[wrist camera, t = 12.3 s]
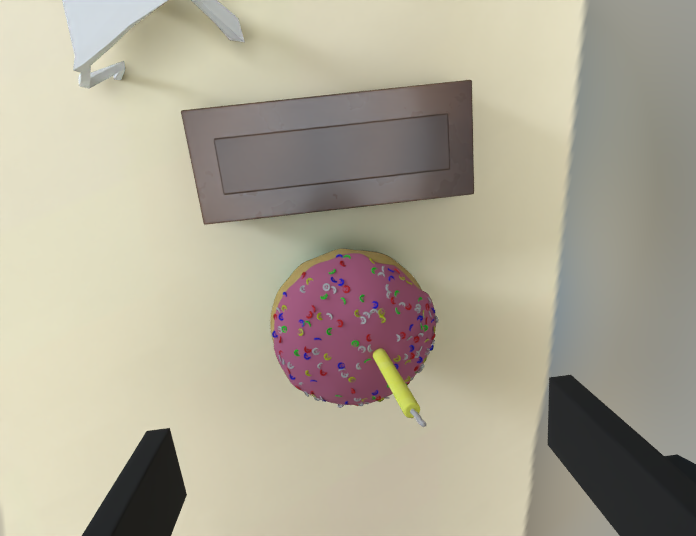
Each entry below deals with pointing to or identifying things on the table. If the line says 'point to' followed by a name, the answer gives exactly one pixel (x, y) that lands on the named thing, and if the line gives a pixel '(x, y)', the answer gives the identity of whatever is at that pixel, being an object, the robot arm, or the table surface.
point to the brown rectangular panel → (332, 151)
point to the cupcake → (353, 329)
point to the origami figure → (123, 30)
